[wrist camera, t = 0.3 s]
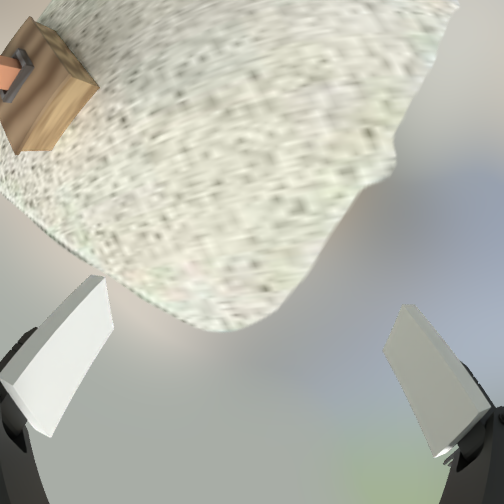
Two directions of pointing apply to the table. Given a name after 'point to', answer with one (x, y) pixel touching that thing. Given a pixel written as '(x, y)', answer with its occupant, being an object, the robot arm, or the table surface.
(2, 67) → the wooden peg
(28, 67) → the wooden socket base
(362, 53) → the table surface
